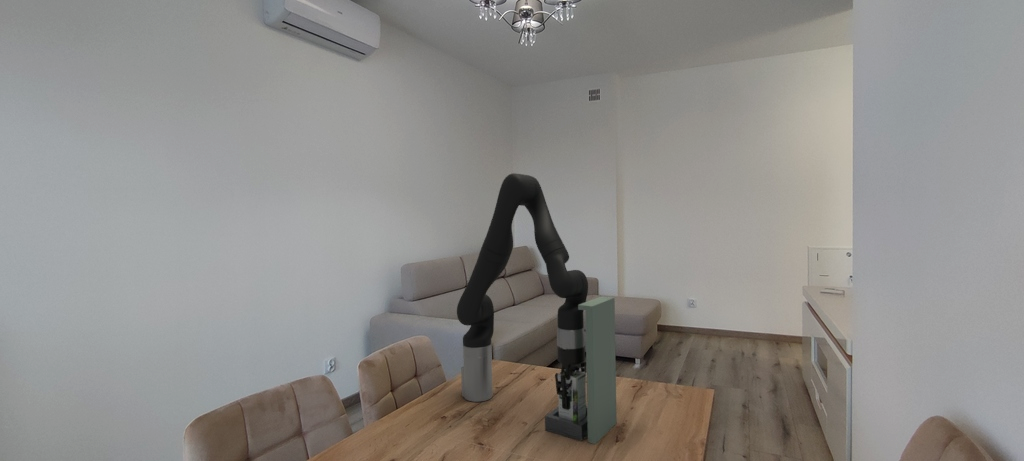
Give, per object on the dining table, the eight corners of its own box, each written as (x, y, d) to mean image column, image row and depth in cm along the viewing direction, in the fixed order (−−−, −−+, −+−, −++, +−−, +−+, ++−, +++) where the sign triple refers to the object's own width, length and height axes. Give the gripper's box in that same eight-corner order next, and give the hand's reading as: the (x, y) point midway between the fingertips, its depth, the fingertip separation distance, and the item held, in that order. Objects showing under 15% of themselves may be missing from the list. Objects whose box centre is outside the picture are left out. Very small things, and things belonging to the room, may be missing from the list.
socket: (545, 430, 123) (544, 416, 123) (564, 415, 132) (564, 402, 132) (581, 441, 117) (581, 426, 117) (599, 424, 126) (599, 410, 125)
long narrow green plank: (580, 440, 117) (578, 304, 116) (603, 419, 129) (601, 296, 128) (595, 444, 115) (592, 306, 114) (616, 423, 126) (614, 297, 125)
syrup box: (557, 425, 124) (557, 373, 123) (568, 417, 128) (568, 367, 128) (576, 431, 120) (575, 377, 120) (586, 423, 125) (586, 371, 125)
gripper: (571, 335, 132) (572, 393, 132) (545, 348, 120) (546, 410, 121) (594, 339, 127) (595, 398, 128) (570, 352, 116) (571, 417, 116)
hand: (571, 404), depth 124 cm, fingers closed on syrup box, 6 cm apart
